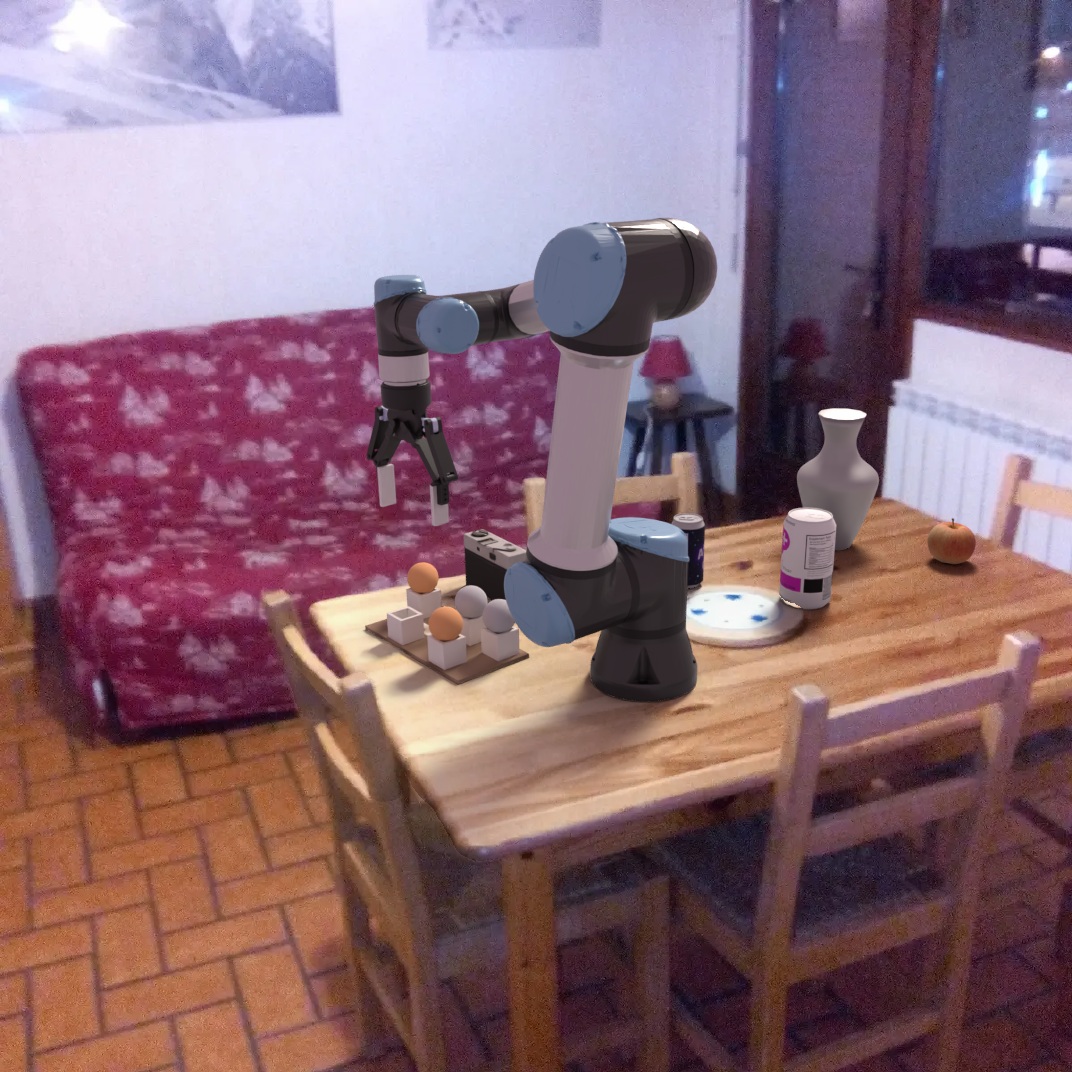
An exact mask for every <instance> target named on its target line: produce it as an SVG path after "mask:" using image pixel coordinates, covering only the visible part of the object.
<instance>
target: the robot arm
mask: <svg viewBox="0 0 1072 1072" xmlns="http://www.w3.org/2000/svg"><path fill="white" fill-rule="evenodd" d="M717 262H718V261H717V255H716V252H715V249H714V246H713V245H712V243H711V241H710V240H709V238H708V237H707V236H706V234H704V233H703V231H701V230H700V229H699V228H698V227H697V226H696V225H694V224H692V223H690V222H688V221H685V220H683V219H677V218H672V217H659V218H658V217H657V218H651V219H639V220H638V219H637V220H628V221H613V222H611V221H610V222H608V221H607V222H600V221H595V222H593V221H592V222H589V223H586V224H583V225H578V226H573V227H567V228H565V229H563V230H561V231H559V232H558V233H557V234H556V235H555V236H554V237H552V238H551V239H549V241H548V242H547V243H546V245H545V246H544V248H543V250H542V251H541V253H540V255H539V257H538V259H537V262H536V267H535V269H534V274H533V279H531V280H528V281H524V282H521V283H518V284H514V285H510V286H507V287H502V288H497V289H496V288H495V289H489V290H479V291H470V292H462V293H453V294H446V295H445V294H444V295H432V294H427V289H426V285H425V281H424V280H423V278H422V277H421V276H419V275H415V274H392V275H385V276H381V277H379V278H377V279H376V280H375V281H374V285H373V287H374V288H373V289H374V290H373V291H374V293H373V294H374V302H373V307H374V317H375V318H374V319H375V329H376V331H375V332H376V341H377V351H378V353H377V355H378V356H377V357H378V358H377V359H378V372H379V373H378V374H379V379H380V380H381V381H383V382H382V383H381V384H380V400H381V405H379V406H375V408H374V423H373V426H372V430H371V435H370V438H369V443H368V446H367V451H366V459H367V460H369V461H372V462H373V466H375V468H376V481H377V484H378V497H379V506H380V508H381V507H382V508H384V507H388V506H391V505H396V504H397V494H396V493H397V492H396V481H395V480H396V477H395V465H394V464H392V463H393V462H394V460H393V457H394V455H395V454H396V451H397V449H398V448H399V446H400V444H401V442H402V441H404V442H405V443H408V444H409V445H410V446H411V447H412V448H413V449H415V450H416V451H417V453H418V455H419V457H420V459H421V461H422V463H423V466H424V468H425V469H426V471H427V472H428V475H429V477H430V479H431V481H432V482H431V483H430V484H429V494H430V509H431V513H430V514H431V526H434V527H438V526H441V525H444V524H446V523H450V517H449V514H450V513H449V503H450V491H449V490H450V489H449V487H450V486H449V485H450V483H452V482H455V481H458V479H459V475H458V472H457V469H456V467H455V464H454V459H453V458H452V455H451V451H450V449H449V446H448V443H447V440H446V437H445V434H444V430H443V429H444V428H443V422H442V418H441V417H440V416H436V417H430V418H429V417H428V413H427V408H428V407H429V406H431V404H432V391H431V390H432V389H431V382H430V381H429V380H428V379H429V377H430V364H429V363H430V358H429V350H431V351H433V352H434V353H439V354H443V355H444V354H445V355H446V354H449V355H452V354H453V355H456V354H460V353H463V352H466V351H467V350H469V348H470V347H473V346H479V345H485V344H490V343H497V342H503V341H511V340H520V339H521V340H523V339H529V338H533V337H536V336H540V335H543V334H544V333H546V332H549V340H550V341H551V342H552V343H551V344H553V345H554V346H555V347H556V349H558V351H559V352H560V358H559V366H558V375H557V384H556V393H555V400H554V408H553V417H552V418H553V419H552V427H551V437H550V442H549V443H550V444H549V454H548V461H547V462H548V463H547V471H546V479H545V481H546V482H545V489H544V496H543V506H542V507H543V508H542V514H541V525H540V526H539V527H537V528H535V529H534V530H533V531H532V532H530V534H529V535H528V538H527V543H526V549H525V550H526V558H525V561H524V562H516V563H515V564H514V565H513V566H512V567H510V568H509V569H508V570H507V572H506V574H505V578H504V592H505V598H506V602H507V605H508V608H509V611H510V613H511V615H512V617H513V619H514V621H515V624H516V626H517V628H518V629H519V631H521V633H523V635H524V636H525V637H526V638H527V639H528V640H529V641H531V642H532V643H534V645H535V644H536V645H537V646H540V647H542V648H543V647H544V648H553V647H556V646H561V645H565V644H568V645H569V644H571V643H574V641H577V640H579V639H582V638H585V637H587V636H591V635H593V634H596V633H598V632H600V634H599V637H598V640H597V643H596V646H595V651H594V653H593V655H592V657H591V660H590V664H589V665H590V668H589V669H590V670H589V671H590V676H589V677H590V681H591V684H592V685H593V686H594V687H595V688H597V690H598V691H600V692H601V693H603V694H605V695H607V696H610V697H613V698H615V699H619V700H623V701H628V702H638V703H654V702H655V703H656V702H657V703H658V702H663V701H664V702H665V701H669V700H673V699H677V698H679V697H682V696H684V695H685V694H688V693H689V692H690V691H692V690H693V688H695V686H696V685H697V682H698V662H697V659H696V657H695V655H694V652H693V648H692V647H693V646H692V643H691V641H690V637H689V634H688V630H687V608H688V606H687V605H688V604H687V603H688V589H687V586H688V562H689V557H688V540H687V537H686V535H685V533H684V532H683V531H682V530H681V529H679V528H678V527H676V526H674V525H672V524H671V523H669V522H665V521H661V520H657V519H653V518H645V517H635V516H634V517H633V516H630V517H617V518H611V517H612V513H613V512H612V510H613V504H614V497H615V491H616V483H617V477H618V471H619V470H618V469H619V463H620V456H621V450H622V444H623V437H624V430H625V424H626V416H627V409H628V403H629V397H630V396H629V395H630V390H631V382H632V378H633V377H632V376H633V369H634V362H635V361H636V360H638V359H639V358H641V357H642V356H643V355H645V354H647V353H648V351H649V349H650V343H651V337H652V332H653V331H652V330H653V326H654V323H658V322H664V321H670V320H675V319H679V318H681V317H684V316H686V315H689V314H691V313H692V312H695V311H696V310H697V309H698V308H699V307H701V306H702V305H703V304H704V303H705V302H706V300H707V299H708V297H710V295H711V294H712V290H713V289H714V287H715V283H716V280H717V275H718V263H717Z"/></svg>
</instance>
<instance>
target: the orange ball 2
mask: <svg viewBox="0 0 1072 1072" xmlns="http://www.w3.org/2000/svg"><path fill="white" fill-rule="evenodd" d="M462 628H463V619H462V617H461V615H460V613H459V612H458V611H457V610H456V608H453V607H451V606H442V607H441V608H438V609H436V610H435V611H434V612H433V613H432V614H431V616H430V618H429V630H430V632H431V634H432V635H433V636H434V637H435V638H436V639H438V640H441V641H450V640H453V639H455V638H456V637H458V636H459V634H460V633H461V631H462Z"/></svg>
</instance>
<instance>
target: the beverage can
mask: <svg viewBox="0 0 1072 1072" xmlns="http://www.w3.org/2000/svg"><path fill="white" fill-rule="evenodd" d="M670 524H672V525H674V526H676V527H678V528H679V529H681V530H682V531H683V532H684V533H685V535H686V537H687V540H688V557H689V562H688V586H687V588H690V589H694V587H695V588H697V587H699V585H700V584H702V583H703V581H704V571H705V570H704V567H705V566H704V564H705V539H706V538H705V537H706V536H705V534H706V533H705V532H706V525H705V522H704V518H703V516H702V515H700V514H698V513H697V514H696V513H690V512H687V513H686V512H685V513H682V512H681V513H677V514H675V515H674V516H673V520H672V522H671V523H670Z"/></svg>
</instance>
